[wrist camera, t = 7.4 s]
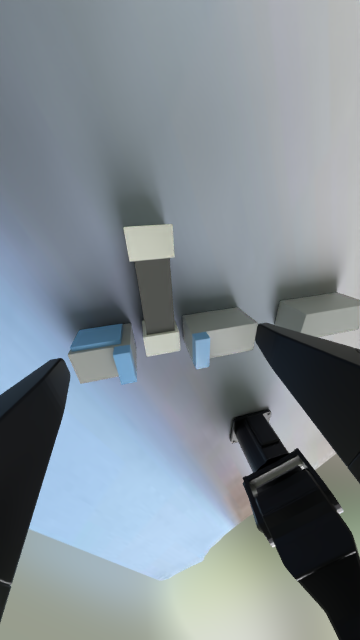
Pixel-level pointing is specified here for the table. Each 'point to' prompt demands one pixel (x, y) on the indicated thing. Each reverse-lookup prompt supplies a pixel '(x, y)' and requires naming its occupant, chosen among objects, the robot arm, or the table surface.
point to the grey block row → (209, 335)
